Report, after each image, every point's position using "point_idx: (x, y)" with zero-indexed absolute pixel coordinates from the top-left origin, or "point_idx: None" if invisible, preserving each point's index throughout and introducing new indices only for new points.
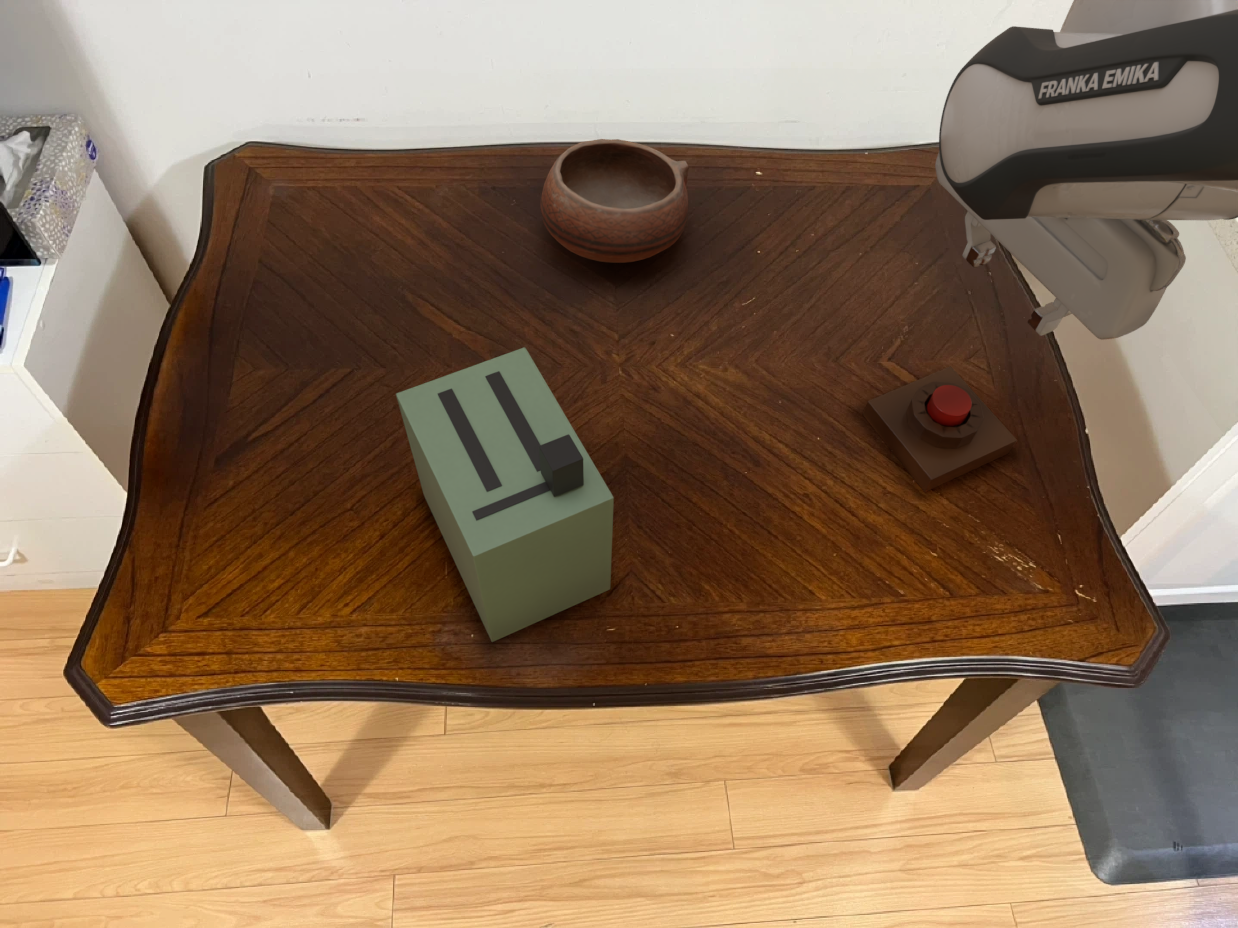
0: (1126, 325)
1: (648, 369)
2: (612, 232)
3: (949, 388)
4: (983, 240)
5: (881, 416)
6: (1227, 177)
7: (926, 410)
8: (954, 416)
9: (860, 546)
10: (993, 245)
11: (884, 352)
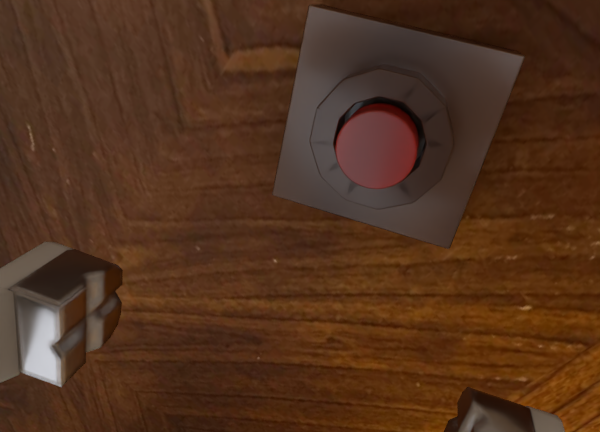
0: None
1: None
2: None
3: (352, 130)
4: (4, 329)
5: (307, 204)
6: None
7: None
8: (403, 178)
9: (435, 357)
10: (47, 307)
11: (211, 44)
